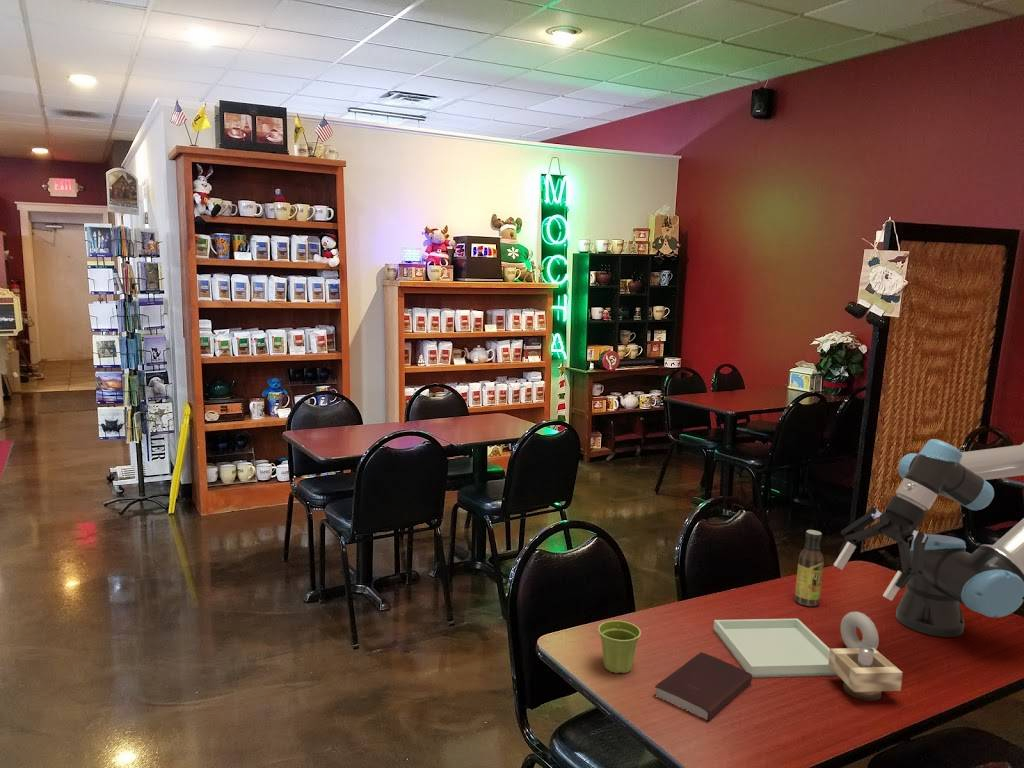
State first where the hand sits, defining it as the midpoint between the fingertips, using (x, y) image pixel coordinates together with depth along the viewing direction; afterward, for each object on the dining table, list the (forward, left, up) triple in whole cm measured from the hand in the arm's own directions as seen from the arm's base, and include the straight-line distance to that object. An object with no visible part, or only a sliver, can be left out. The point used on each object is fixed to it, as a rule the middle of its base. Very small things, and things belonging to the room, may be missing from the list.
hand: (861, 582), depth 162 cm
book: (+40, +11, -19) cm, 46 cm away
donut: (-2, -1, -18) cm, 19 cm away
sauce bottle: (-4, -28, -18) cm, 34 cm away
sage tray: (+17, -3, -18) cm, 25 cm away
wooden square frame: (+6, +14, -15) cm, 21 cm away
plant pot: (+56, +2, -18) cm, 59 cm away
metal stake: (+6, +14, -18) cm, 24 cm away
